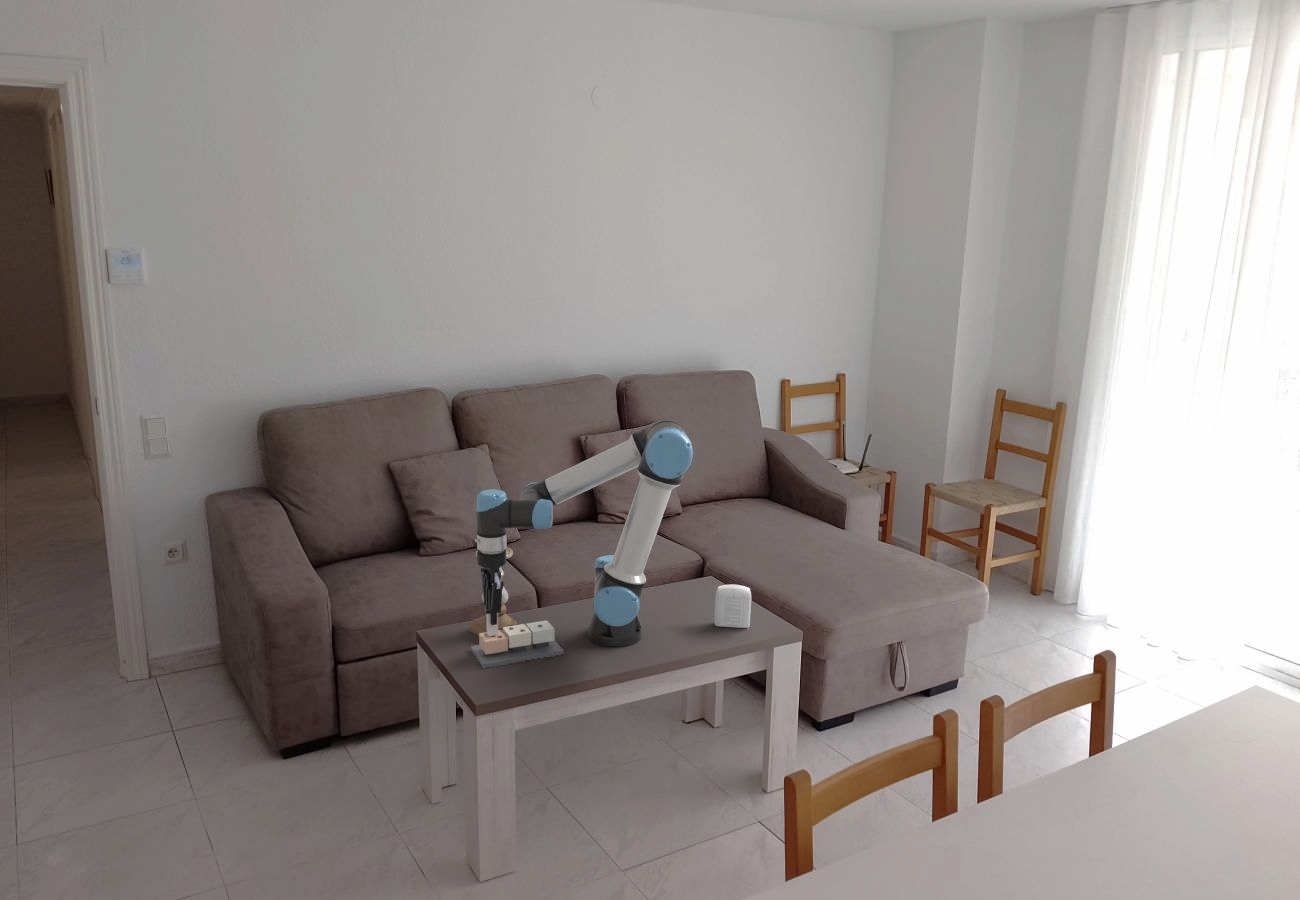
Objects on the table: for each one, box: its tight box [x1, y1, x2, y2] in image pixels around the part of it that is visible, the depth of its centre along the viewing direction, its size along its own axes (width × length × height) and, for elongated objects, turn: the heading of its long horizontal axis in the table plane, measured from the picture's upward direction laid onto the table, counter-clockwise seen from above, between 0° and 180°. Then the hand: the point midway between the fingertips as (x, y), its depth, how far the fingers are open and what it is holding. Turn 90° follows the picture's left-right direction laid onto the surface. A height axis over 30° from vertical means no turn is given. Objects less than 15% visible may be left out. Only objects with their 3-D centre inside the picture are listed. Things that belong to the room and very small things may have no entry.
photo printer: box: [713, 583, 752, 629], centre depth 293 cm, size 10×4×12 cm, turn 86°
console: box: [470, 639, 565, 669], centre depth 273 cm, size 22×12×4 cm, turn 115°
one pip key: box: [525, 620, 555, 644], centre depth 275 cm, size 6×6×4 cm
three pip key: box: [478, 630, 508, 654], centre depth 270 cm, size 6×6×4 cm
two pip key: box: [503, 623, 531, 648], centre depth 272 cm, size 6×6×4 cm
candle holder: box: [469, 546, 519, 637], centre depth 283 cm, size 11×11×24 cm
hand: (492, 634), depth 269 cm, fingers closed
